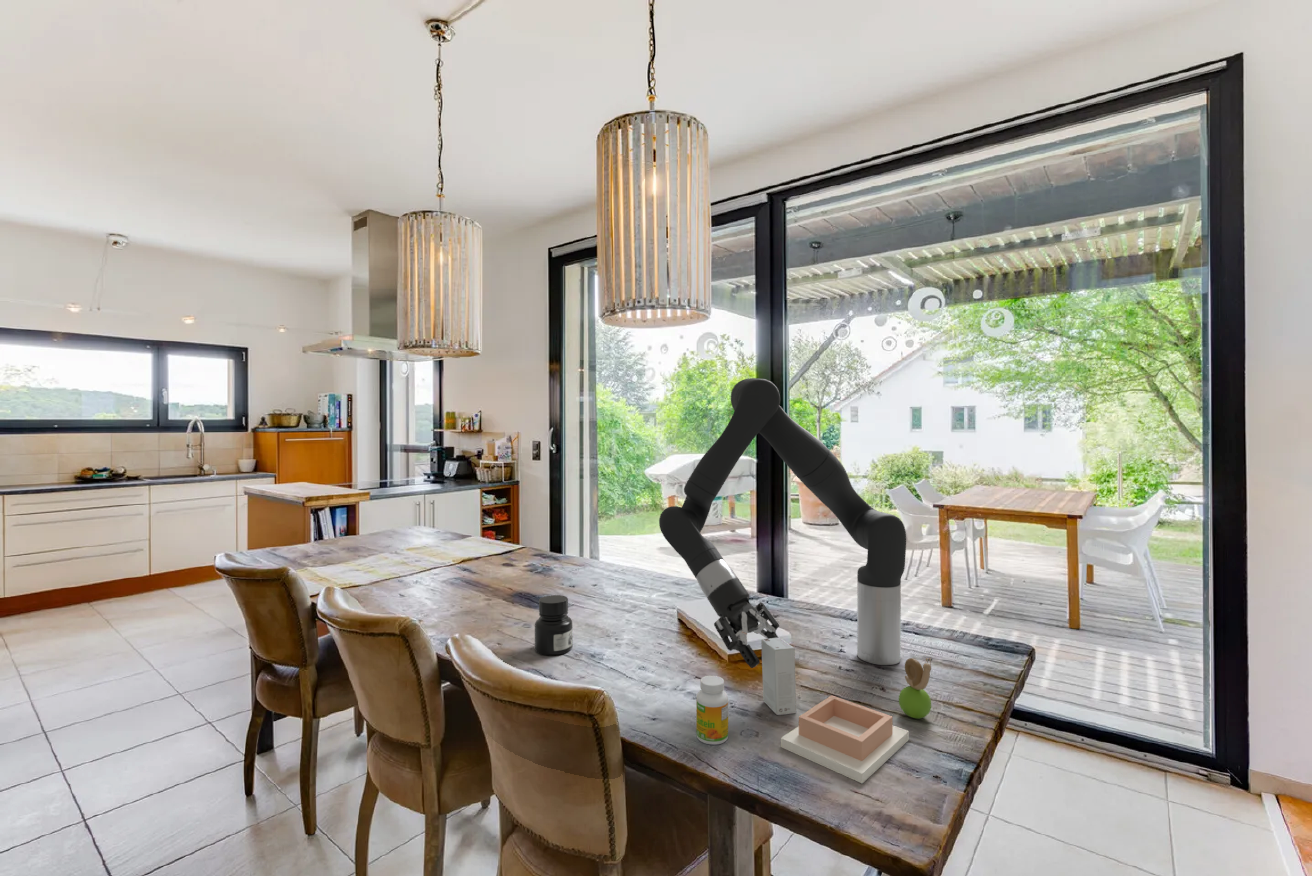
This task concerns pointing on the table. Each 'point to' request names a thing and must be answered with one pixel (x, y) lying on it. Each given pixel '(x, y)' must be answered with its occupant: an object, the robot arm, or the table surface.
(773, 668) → the skincare box
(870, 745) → the socket stand
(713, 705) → the supplement bottle
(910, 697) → the snail figurine
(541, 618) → the ink bottle
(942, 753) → the table surface
